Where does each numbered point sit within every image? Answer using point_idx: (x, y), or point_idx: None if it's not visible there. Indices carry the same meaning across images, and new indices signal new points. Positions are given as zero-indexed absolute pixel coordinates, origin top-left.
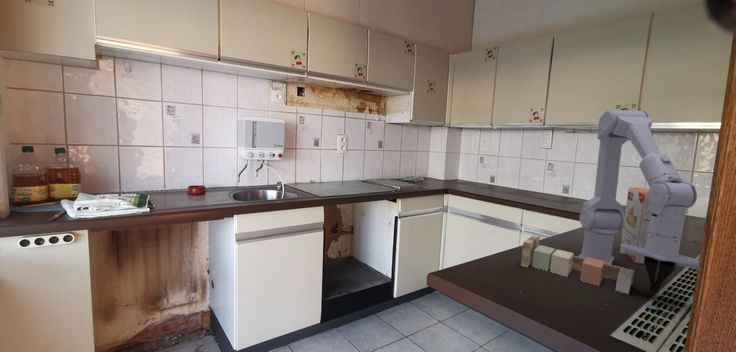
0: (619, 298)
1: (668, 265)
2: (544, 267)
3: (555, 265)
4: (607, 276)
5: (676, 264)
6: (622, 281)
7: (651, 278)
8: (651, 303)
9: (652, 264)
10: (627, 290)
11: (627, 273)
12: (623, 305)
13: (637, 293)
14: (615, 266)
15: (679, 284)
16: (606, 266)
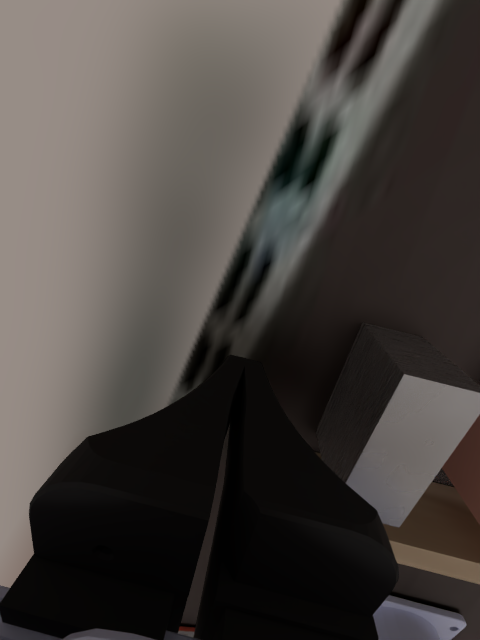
0: (441, 235)
1: (101, 549)
2: None
3: None
4: None
5: (5, 594)
6: (433, 368)
7: (269, 406)
8: (270, 270)
9: (310, 520)
10: (377, 335)
11: (383, 470)
12: (462, 118)
13: (306, 366)
14: (402, 553)
15: None
16: (448, 544)
